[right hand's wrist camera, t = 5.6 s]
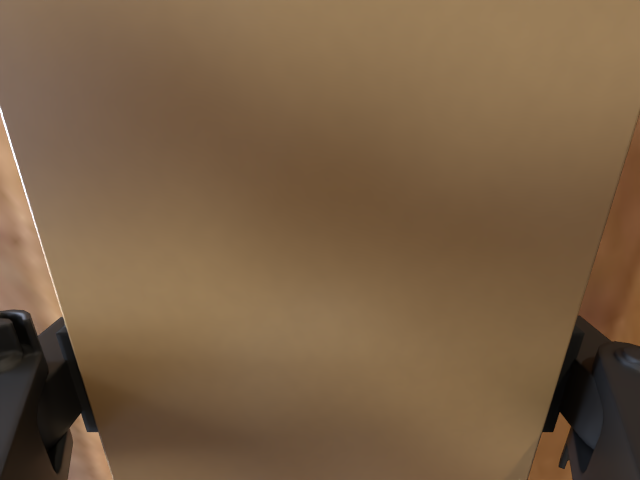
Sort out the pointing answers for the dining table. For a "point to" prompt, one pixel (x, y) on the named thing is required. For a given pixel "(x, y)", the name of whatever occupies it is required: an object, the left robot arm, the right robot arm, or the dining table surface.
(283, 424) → the thick board
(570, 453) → the right robot arm
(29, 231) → the dining table surface
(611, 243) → the dining table surface
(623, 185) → the dining table surface
